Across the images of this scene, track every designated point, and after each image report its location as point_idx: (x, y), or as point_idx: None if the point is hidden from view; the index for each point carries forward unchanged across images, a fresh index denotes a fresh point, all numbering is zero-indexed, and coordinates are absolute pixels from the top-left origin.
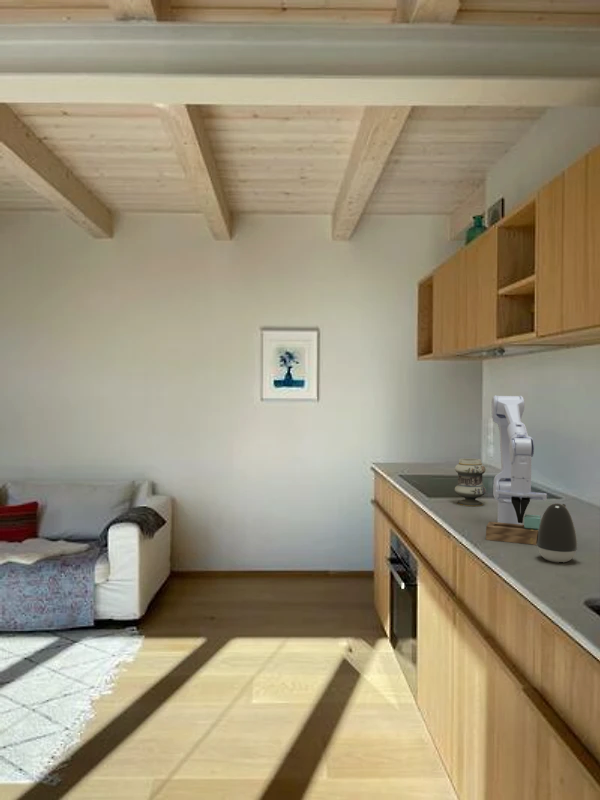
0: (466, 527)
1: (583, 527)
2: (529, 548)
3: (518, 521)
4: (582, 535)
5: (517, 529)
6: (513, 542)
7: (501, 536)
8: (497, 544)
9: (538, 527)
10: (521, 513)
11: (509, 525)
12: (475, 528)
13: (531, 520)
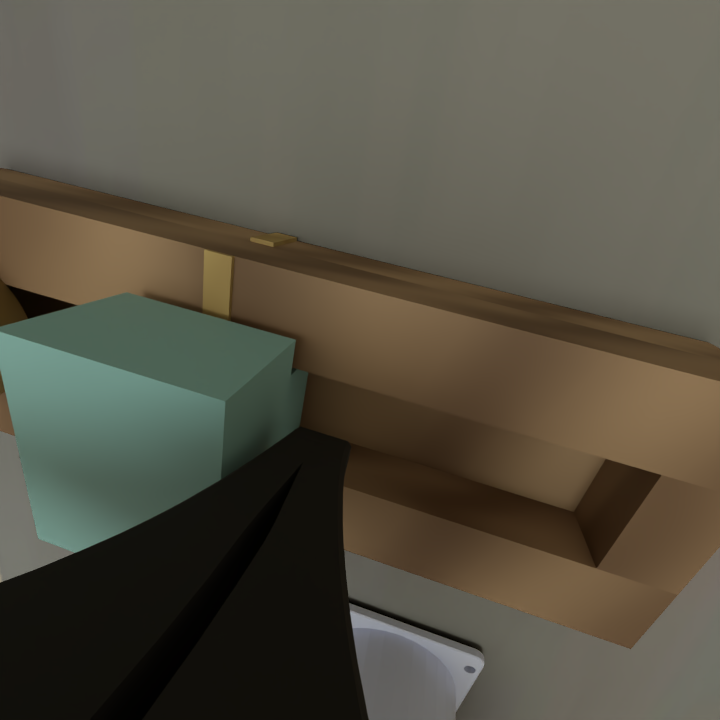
0: (701, 707)
1: None
2: (322, 47)
3: (339, 444)
4: (26, 521)
5: (386, 296)
6: (438, 277)
7: (563, 316)
8: (648, 146)
9: (128, 301)
10: (241, 509)
11: (435, 512)
12: (633, 679)
13: (143, 350)
